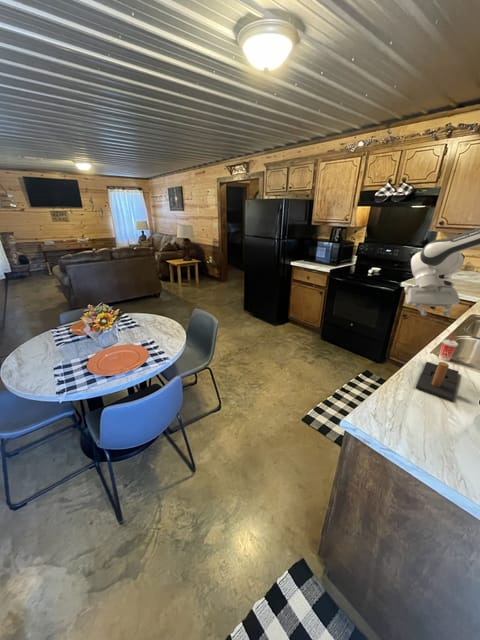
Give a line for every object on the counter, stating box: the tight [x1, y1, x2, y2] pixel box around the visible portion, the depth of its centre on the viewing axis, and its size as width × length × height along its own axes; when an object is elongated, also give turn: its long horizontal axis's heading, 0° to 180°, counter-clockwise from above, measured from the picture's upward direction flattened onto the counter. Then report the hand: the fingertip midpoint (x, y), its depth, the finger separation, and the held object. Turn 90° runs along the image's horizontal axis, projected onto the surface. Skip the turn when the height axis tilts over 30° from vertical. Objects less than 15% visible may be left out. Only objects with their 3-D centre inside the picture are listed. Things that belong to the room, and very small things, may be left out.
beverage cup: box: [438, 332, 459, 362], centre depth 126 cm, size 6×6×14 cm
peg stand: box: [415, 361, 457, 402], centre depth 107 cm, size 16×12×12 cm
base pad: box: [421, 361, 459, 385], centre depth 116 cm, size 12×12×2 cm
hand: (436, 315), depth 108 cm, fingers open, 8 cm apart
